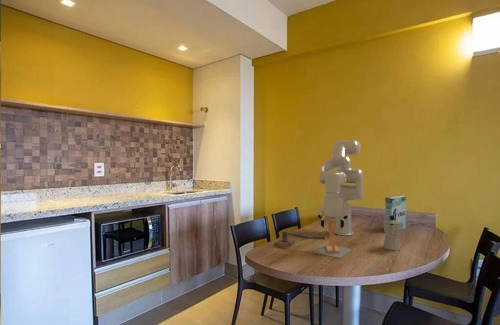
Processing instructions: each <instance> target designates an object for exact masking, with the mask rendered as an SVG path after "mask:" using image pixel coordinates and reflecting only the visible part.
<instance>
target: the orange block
mask: <svg viewBox="0 0 500 325" xmlns="http://www.w3.org/2000/svg"><path fill="white" fill-rule="evenodd" d="M328 231H329V241H328V242H329V244H327V245H325V244H324V245H325V247H326V250H327V252H328V253H340V251H339V249H338V247H339V246H338V245H337V244H336V234H335V232H336V219H329V220H328ZM337 246H338V247H337Z"/></svg>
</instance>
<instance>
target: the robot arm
mask: <svg viewBox="0 0 500 325" xmlns="http://www.w3.org/2000/svg"><path fill="white" fill-rule="evenodd" d="M361 152H362V145H361V142H360V141H358V140H354V139H351V140H350V139H349V140H348V139H346V140H337V141H336V142H334V143H333V144H332V152H331V157H330V158H329V159H327V160H326V161H324V162H323V164H322V165H321V167H320V170H319V171H320V172H319V176H318V179H319V182H320V184H322V185H324V188H325V189H324V190H325V192H324V195H325V196H324V197H323V199H322V205H321V206H322V207H321V208H320V209H318V210H316V211H315V214H316V215H317V217H318V218H319V219H320V226H321V227H322V228H325V218H335V222H336V232H335V235H339V236H348V237H349V236H353V235H354V234H355V232H354V231H353V230H352V205H351V204H350V203H349V201H356V202H357V201H361V200H363V198H364V174H363V173H364V172H363V170H361V169H359V168H352V160H351V158H349V156H352V155H353V156H357V155H360V153H361ZM333 169H337V171H336V170H333ZM350 184H353V185H350ZM354 184H355V185H354ZM320 213H322V215H320Z"/></svg>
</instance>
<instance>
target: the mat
mask: <svg viewBox="0 0 500 325" xmlns="http://www.w3.org/2000/svg"><path fill="white" fill-rule="evenodd" d="M325 245H328V243H326V244H323V245H321V246H319V247H318V248H316V249H314V250H313V251H311V253H312V254H318V255H322V256H326V257H327V256H328V257H331V258H335V259H340V260H341V259H342V258H343V257H345V256H346V255H347V254H349V253H350V252H351V251H353V249H352V248H347V247H344V246H343V247H342V246H338V245H337V247H338V249H339V251H340V253H328V252H327V250H326V247H325Z"/></svg>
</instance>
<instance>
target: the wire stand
mask: <svg viewBox="0 0 500 325" xmlns="http://www.w3.org/2000/svg"><path fill="white" fill-rule="evenodd" d="M288 236H291V237H296V238H301V239H306V240H325V239H326V238H325V236H319V235H317V236H316V235H304V234H297V233H293V232H288V231H285V230H284V231H282V238H281V239H279V240H277V241H275V242H274V247H278V248H282V249H287V248H289V247H291V246H293V245H296V244H295V243H296V242H295V240H294V239H288Z"/></svg>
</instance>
